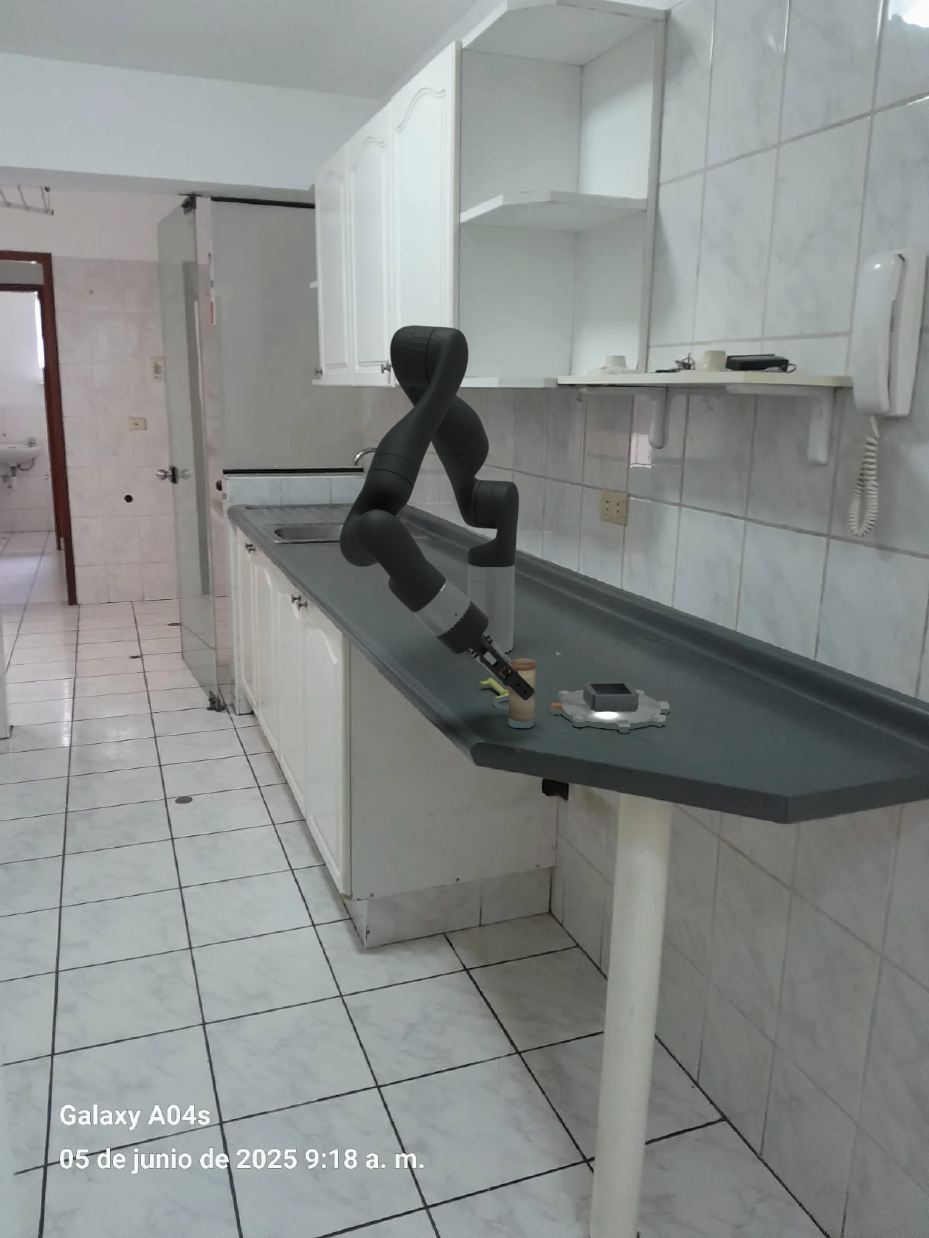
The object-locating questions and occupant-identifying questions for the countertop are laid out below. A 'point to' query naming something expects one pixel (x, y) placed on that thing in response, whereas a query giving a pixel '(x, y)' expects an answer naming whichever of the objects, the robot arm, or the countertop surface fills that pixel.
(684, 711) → the countertop surface
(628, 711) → the sprocket plate
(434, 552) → the countertop surface
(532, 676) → the pin
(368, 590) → the countertop surface
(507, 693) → the key
